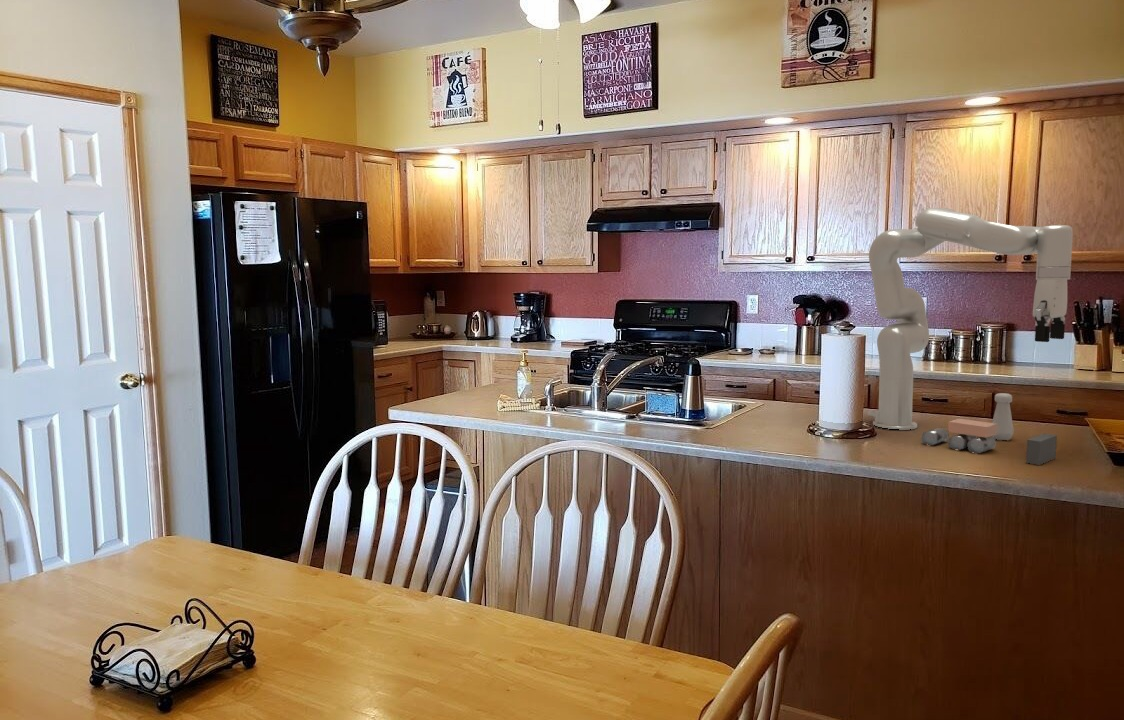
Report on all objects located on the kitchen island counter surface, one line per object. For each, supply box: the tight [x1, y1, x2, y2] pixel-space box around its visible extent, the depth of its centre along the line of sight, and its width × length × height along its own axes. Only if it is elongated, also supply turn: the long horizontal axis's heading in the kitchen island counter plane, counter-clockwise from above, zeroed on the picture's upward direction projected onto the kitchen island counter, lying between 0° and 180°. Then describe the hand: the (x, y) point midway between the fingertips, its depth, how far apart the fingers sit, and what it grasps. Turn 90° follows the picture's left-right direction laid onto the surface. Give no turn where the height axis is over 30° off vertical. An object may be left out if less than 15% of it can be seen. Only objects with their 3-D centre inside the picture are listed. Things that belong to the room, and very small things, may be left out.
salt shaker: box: [991, 392, 1015, 441], centre depth 220 cm, size 6×6×13 cm
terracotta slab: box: [947, 418, 997, 438], centre depth 209 cm, size 10×6×3 cm, turn 38°
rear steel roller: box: [947, 433, 977, 451], centre depth 211 cm, size 4×8×4 cm, turn 128°
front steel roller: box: [967, 436, 997, 454], centre depth 208 cm, size 4×8×4 cm, turn 128°
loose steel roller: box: [920, 427, 950, 446], centre depth 217 cm, size 4×8×4 cm, turn 128°
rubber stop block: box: [1025, 433, 1058, 466], centre depth 196 cm, size 3×10×6 cm, turn 128°
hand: (1049, 340), depth 203 cm, fingers open, 9 cm apart
